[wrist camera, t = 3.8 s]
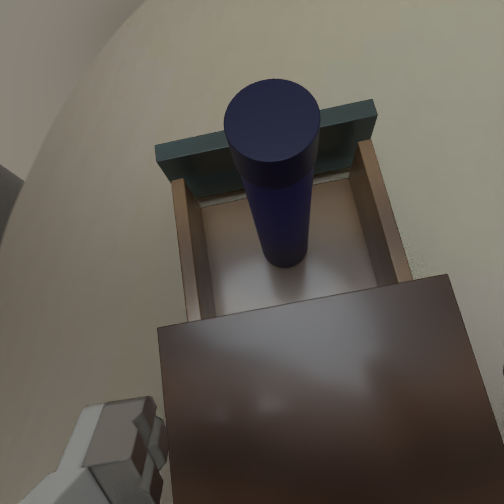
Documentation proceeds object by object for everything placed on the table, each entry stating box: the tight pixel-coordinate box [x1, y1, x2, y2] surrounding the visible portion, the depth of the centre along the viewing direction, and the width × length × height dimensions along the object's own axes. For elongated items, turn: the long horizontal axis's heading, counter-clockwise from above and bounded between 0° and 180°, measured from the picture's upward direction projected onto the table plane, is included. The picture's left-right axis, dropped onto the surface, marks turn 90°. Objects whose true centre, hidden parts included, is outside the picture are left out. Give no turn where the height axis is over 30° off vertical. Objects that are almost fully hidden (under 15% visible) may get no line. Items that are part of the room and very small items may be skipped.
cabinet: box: [157, 274, 504, 504], centre depth 21 cm, size 15×15×8 cm
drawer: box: [155, 99, 413, 322], centre depth 25 cm, size 15×13×6 cm
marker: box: [224, 79, 321, 268], centre depth 20 cm, size 3×3×14 cm
